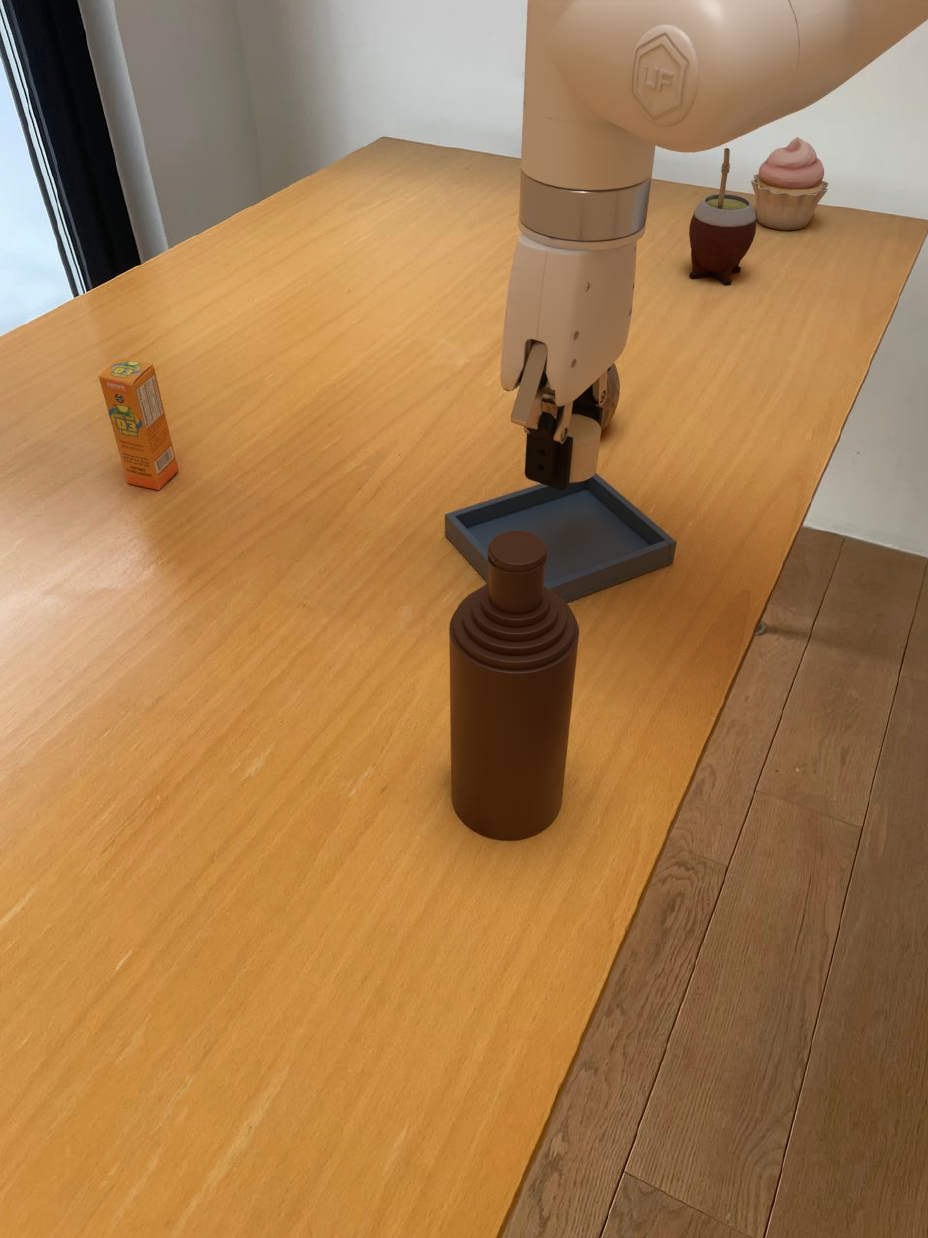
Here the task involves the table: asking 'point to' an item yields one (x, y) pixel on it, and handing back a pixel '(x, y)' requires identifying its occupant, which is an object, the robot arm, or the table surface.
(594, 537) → the tray
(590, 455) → the cap
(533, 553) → the bottle
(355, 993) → the table surface
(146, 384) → the supplement box
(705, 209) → the mate gourd
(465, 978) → the table surface
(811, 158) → the cupcake
